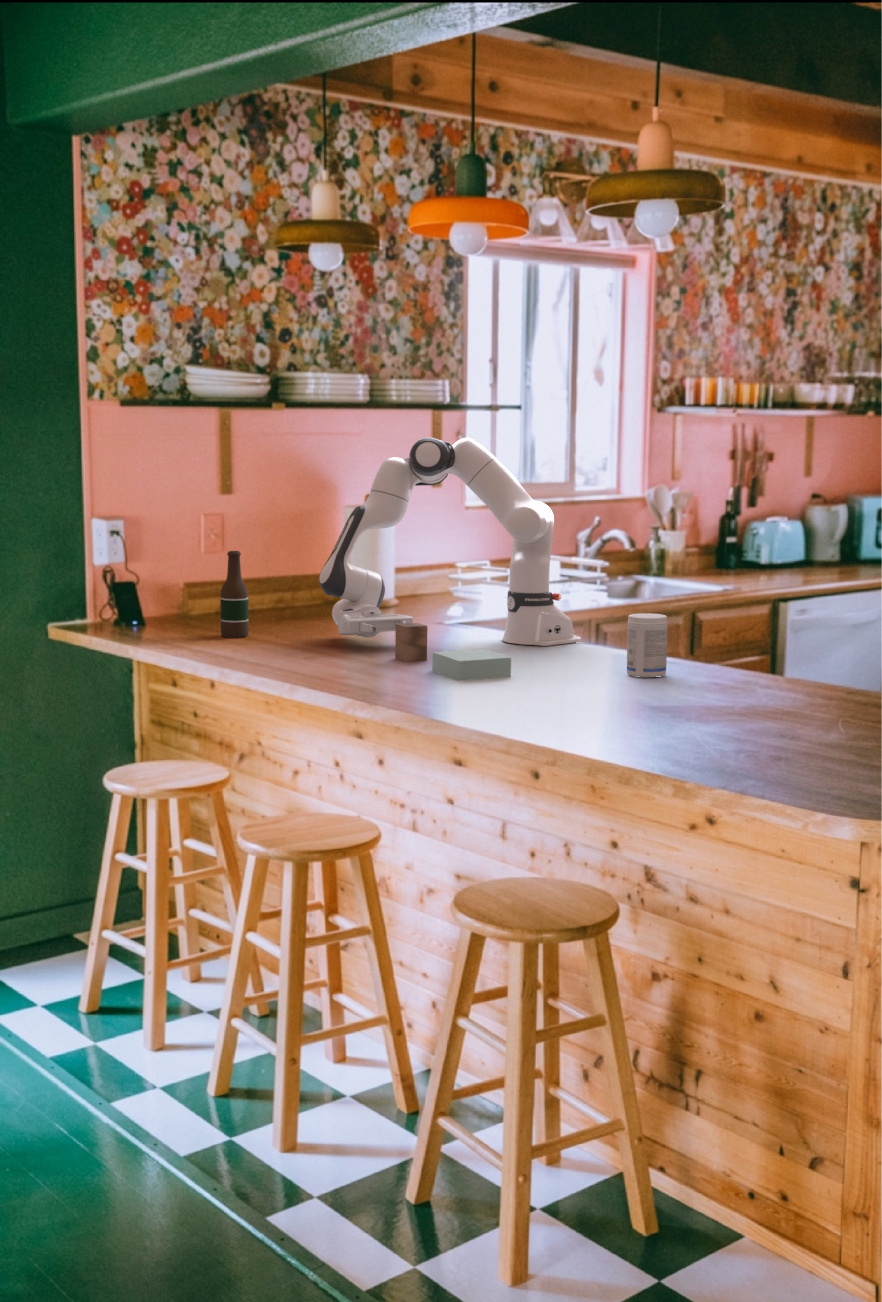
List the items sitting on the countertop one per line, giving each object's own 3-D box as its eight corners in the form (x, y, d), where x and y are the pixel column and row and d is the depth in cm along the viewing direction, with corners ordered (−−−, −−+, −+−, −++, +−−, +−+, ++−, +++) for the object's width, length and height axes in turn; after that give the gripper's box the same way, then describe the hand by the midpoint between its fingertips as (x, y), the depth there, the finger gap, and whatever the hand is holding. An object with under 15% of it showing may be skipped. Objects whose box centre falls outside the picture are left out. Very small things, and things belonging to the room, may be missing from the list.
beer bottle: (254, 635, 375) (253, 550, 371) (236, 639, 368) (235, 552, 364) (233, 633, 379) (232, 549, 375) (214, 636, 372) (213, 551, 368)
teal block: (482, 668, 330) (483, 648, 330) (510, 678, 318) (511, 657, 317) (432, 672, 324) (432, 652, 323) (458, 682, 312) (459, 661, 311)
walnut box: (416, 657, 344) (416, 622, 342) (426, 660, 339) (427, 625, 337) (395, 658, 341) (395, 623, 340) (405, 662, 336) (406, 626, 334)
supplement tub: (670, 674, 325) (672, 614, 323) (660, 680, 316) (663, 619, 314) (631, 670, 329) (633, 611, 326) (621, 676, 320) (623, 616, 318)
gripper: (400, 630, 367) (424, 637, 355) (332, 634, 357) (354, 642, 345) (401, 607, 366) (424, 614, 354) (333, 611, 356) (355, 618, 344)
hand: (389, 627), depth 349 cm, fingers open, 8 cm apart
